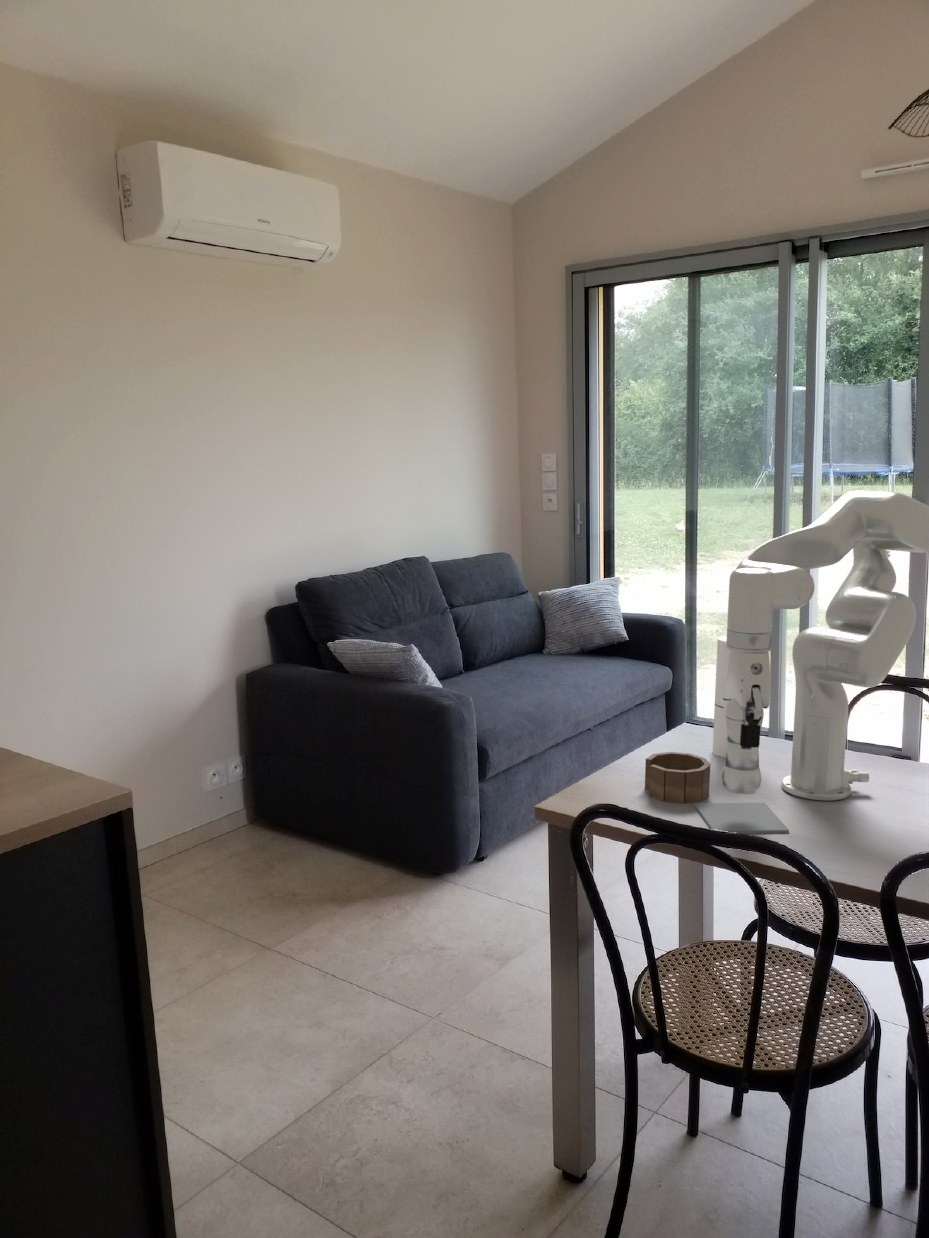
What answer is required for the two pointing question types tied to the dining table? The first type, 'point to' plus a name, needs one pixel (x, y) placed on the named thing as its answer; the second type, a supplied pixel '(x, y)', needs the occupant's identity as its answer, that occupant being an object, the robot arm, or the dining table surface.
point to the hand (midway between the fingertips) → (743, 739)
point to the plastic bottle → (739, 755)
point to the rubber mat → (741, 817)
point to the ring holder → (677, 777)
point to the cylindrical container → (721, 698)
